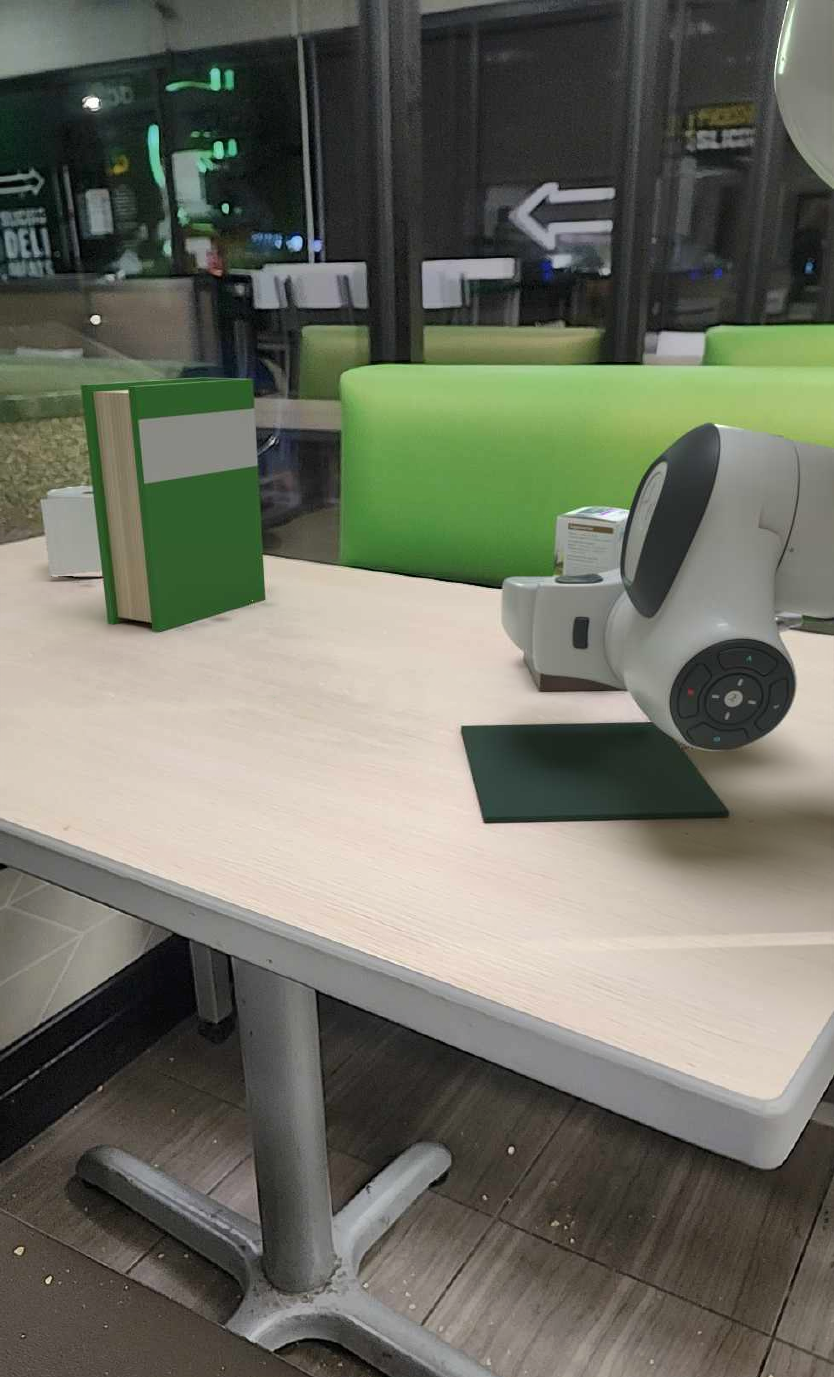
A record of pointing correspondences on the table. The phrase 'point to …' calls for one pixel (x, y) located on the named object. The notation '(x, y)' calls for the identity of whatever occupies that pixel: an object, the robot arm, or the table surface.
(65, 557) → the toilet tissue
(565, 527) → the syrup box
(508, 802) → the mat
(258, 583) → the hardback book
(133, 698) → the table surface
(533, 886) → the table surface
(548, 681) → the box
